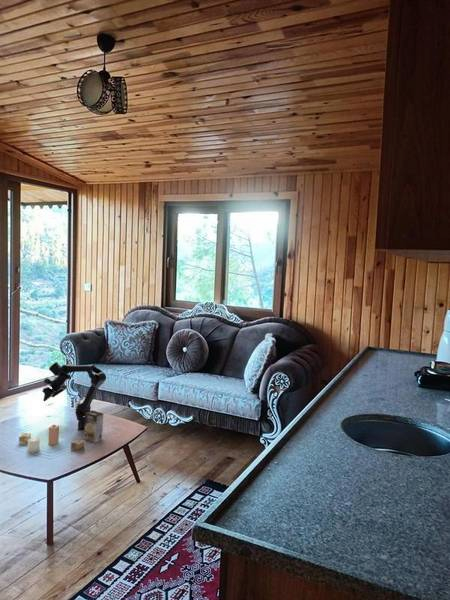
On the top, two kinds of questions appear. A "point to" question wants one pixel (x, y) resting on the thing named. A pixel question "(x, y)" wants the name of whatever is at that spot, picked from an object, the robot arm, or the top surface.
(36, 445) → the cream jar
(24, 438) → the oak block
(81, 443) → the walnut block
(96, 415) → the coffee box
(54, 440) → the terracotta brick
